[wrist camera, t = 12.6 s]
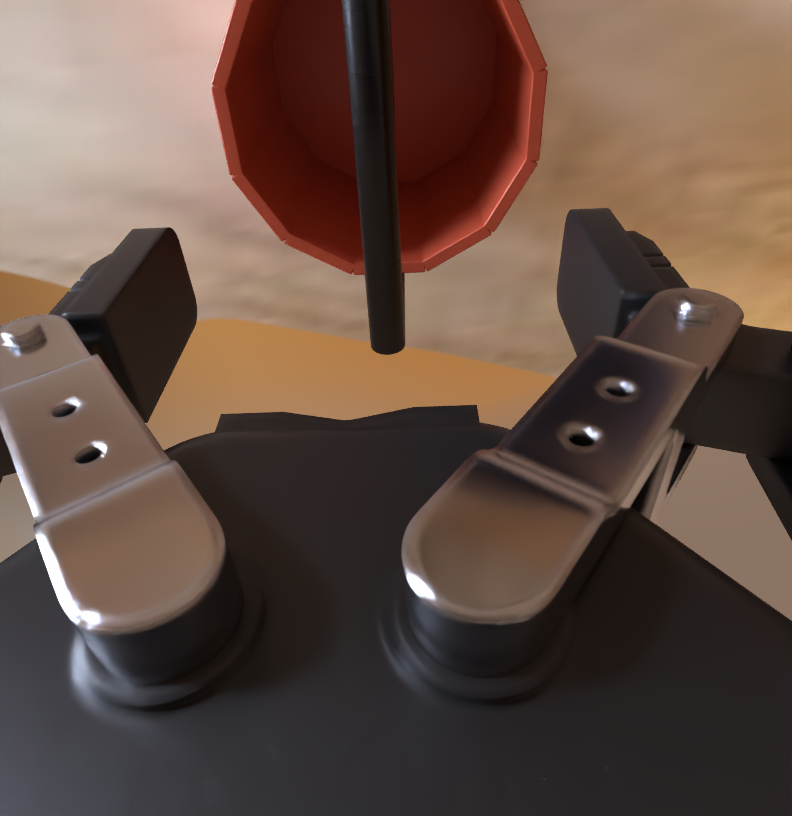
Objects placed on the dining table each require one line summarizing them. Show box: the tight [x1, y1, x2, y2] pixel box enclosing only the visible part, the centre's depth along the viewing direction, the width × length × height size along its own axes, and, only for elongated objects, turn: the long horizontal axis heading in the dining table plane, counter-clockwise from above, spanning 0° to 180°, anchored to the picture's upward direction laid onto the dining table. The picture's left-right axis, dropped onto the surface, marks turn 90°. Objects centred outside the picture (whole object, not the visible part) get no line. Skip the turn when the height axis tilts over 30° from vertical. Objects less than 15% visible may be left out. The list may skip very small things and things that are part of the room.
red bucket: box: [211, 0, 548, 355], centre depth 23 cm, size 11×12×15 cm
